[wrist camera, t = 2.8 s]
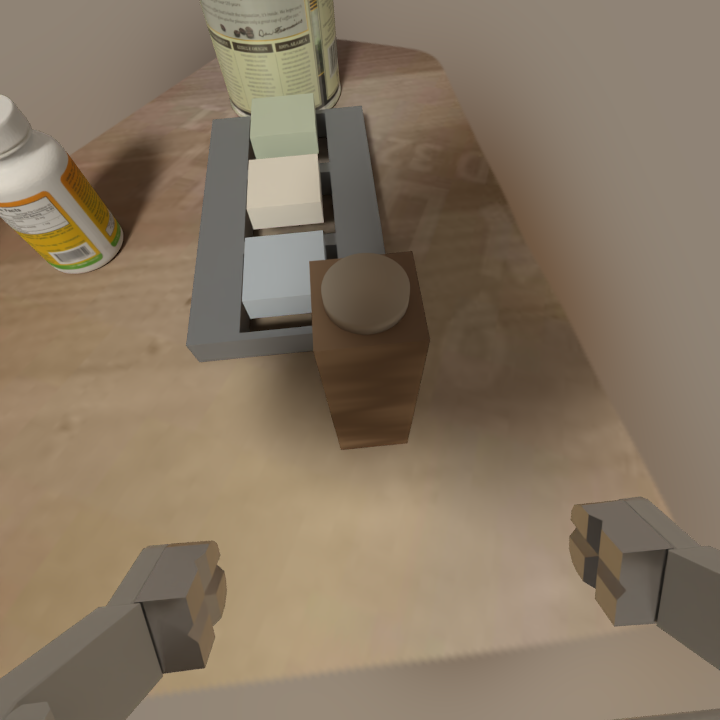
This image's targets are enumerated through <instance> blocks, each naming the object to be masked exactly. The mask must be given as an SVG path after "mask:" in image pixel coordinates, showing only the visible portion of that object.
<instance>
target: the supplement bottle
mask: <svg viewBox="0 0 720 720" xmlns="http://www.w3.org/2000/svg"><path fill="white" fill-rule="evenodd" d="M0 217H1V218H2V219H3V220H4V221H5V222H6V223H7V224H8V225H9V226H10V227H12V228H13V229H14V230H15V231H16V232H17V233H18V234H19V235H20V236H21V237H22V238H23V239H24V240H25V241H26V242H27V243H28V244H29V245H31V246H32V247H33V248H34V249H35V250H36V251H37V252H38V253H39V254H40V255H41V256H42V257H43V258H44V259H45V260H46V261H47V262H48V263H49V264H51V265H52V266H53V267H54V268H56V269H57V270H59V271H61V272H65V273H72V274H77V273H85V272H89V271H93V270H95V269H98V268H100V267H102V266H103V265H105V264H106V263H108V262H109V261H110V260H111V259H112V258H113V257H114V256H115V255H116V254H117V253H118V251H119V250H120V248H121V246H122V243H123V231H122V228H121V226H120V225H119V223H118V222H117V220H116V219H115V218H114V216H113V215H112V214H111V212H110V211H109V209H108V208H107V207H106V205H105V204H104V203H103V201H102V200H101V199H100V197H99V196H98V194H97V193H96V192H95V190H94V189H93V188H92V186H91V185H90V184H89V182H88V181H87V179H86V178H85V177H84V175H83V174H82V173H81V171H80V170H79V168H78V167H77V166H76V164H75V163H74V162H73V160H72V159H71V157H70V156H69V155H68V153H67V152H66V151H65V150H64V148H63V147H62V146H61V145H60V143H59V142H58V141H57V140H56V139H54V138H53V137H52V136H50V135H48V134H46V133H44V132H41V131H37V130H32V128H31V125H30V123H29V122H28V120H27V119H26V117H25V116H24V115H23V114H22V112H21V111H20V110H19V109H18V107H17V106H16V105H15V104H14V102H13V101H12V100H11V99H9V98H8V97H6V96H4V95H1V94H0Z"/></svg>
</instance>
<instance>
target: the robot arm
mask: <svg viewBox="0 0 720 720" xmlns="http://www.w3.org/2000/svg"><path fill="white" fill-rule="evenodd" d="M571 521H572V522H573V524H574V525H575V526H576V529H575V530H574V531H573V533H572V534H571V535H570V536H569V550H570V555H571V559H572V563H573V565H574V567H575V569H576V571H577V573H578V574H579V576H580V577H581V579H582V581H583V582H585V583H587V584H588V585H590V586H592V587H593V588H595V589H596V591H595V600H596V601H597V602H598V604H599V605H600V607H601V608H602V610H603V611H604V613H605V614H606V615H607V617H608V618H609V620H610V621H611V623H612V624H613V626H627V625H641V624H655V623H657V626H658V627H659V628H661V629H662V630H663V631H665V632H666V633H668V634H669V635H671V636H672V637H673V638H675V639H676V640H677V641H679V642H680V643H682V644H683V645H685V646H686V647H687V648H689V649H690V650H692V651H693V652H694V653H696V654H697V655H699V656H700V657H701V658H703V659H704V660H706V661H707V662H709V663H710V664H711V665H713V666H714V667H716V668H717V669H719V670H720V550H718V549H716V548H713V547H711V546H701V545H699V544H698V543H697V542H696V541H695V540H694V539H693V538H691V537H690V536H689V535H688V534H687V533H686V532H684V531H683V530H682V529H681V528H680V527H679V526H678V525H676V524H675V523H674V522H673V521H672V520H671V519H670V518H668V517H667V516H666V515H665V514H664V513H663V512H662V511H660V510H659V509H658V508H657V507H656V506H655V505H654V504H652V503H651V502H650V501H649V500H648V499H646V498H643V497H634V498H626V499H619V500H614V501H605V502H595V503H586V504H576V505H574V506H573V508H572V510H571ZM219 557H220V552H219V548H218V544H217V543H216V542H215V541H200V542H187V543H174V544H165V545H153V546H148V547H146V548H144V549H143V550H142V551H141V553H140V554H139V556H138V557H137V559H136V561H135V562H134V564H133V565H132V567H131V568H130V570H129V571H128V573H127V574H126V576H125V578H124V579H123V581H122V582H121V584H120V585H119V587H118V588H117V590H116V592H115V593H114V595H113V596H112V598H111V599H110V601H109V602H108V604H107V605H106V606H105V607H98V608H97V609H95V610H94V611H93V612H91V613H90V614H89V615H87V616H86V617H84V618H83V619H82V620H80V621H79V622H78V623H76V624H75V625H73V626H72V627H71V628H69V629H68V630H67V631H65V632H64V633H62V634H61V635H60V636H58V637H57V638H56V639H54V640H53V641H51V642H50V643H49V644H47V645H46V646H45V647H43V648H42V649H40V650H39V651H38V652H36V653H35V654H34V655H32V656H31V657H30V658H28V659H27V660H25V661H24V662H23V663H21V664H20V665H19V666H17V667H16V668H14V669H13V670H12V671H10V672H9V673H8V674H6V675H5V676H3V677H2V678H1V679H0V720H126V718H127V717H128V716H129V715H130V714H131V713H132V712H133V711H134V709H135V708H136V707H137V706H138V705H139V704H140V702H141V701H142V700H143V699H144V698H145V697H146V695H147V694H148V693H149V692H150V691H151V690H152V688H153V687H154V686H155V685H156V684H157V683H158V681H159V680H160V679H161V678H162V677H163V675H162V674H164V673H172V672H179V671H187V670H194V669H202V668H205V667H206V664H207V661H208V658H209V655H210V652H211V649H212V646H213V643H214V639H215V634H214V630H213V626H214V625H215V624H216V623H217V622H218V621H219V620H220V619H221V618H222V614H223V611H224V608H225V602H226V594H227V586H226V577H225V573H224V570H222V569H221V568H220V567H219V566H218V565H217V563H218V560H219ZM614 720H720V709H711V710H701V711H692V712H682V713H672V714H663V715H652V716H643V717H634V718H625V719H614Z"/></svg>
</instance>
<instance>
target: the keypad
mask: <svg viewBox="0 0 720 720" xmlns="http://www.w3.org/2000/svg"><path fill="white" fill-rule="evenodd" d="M315 111H316V121H317V135H318V137H327V142H328V153H329V162H328V163H319V169H320V176H321V190H322V195H330V194H332V198H333V209H334V220H335V231H336V233H329V234H323V235H324V242H325V248H326V259H327V260H328V259H338V258H345V257H347V256H350V255H353V254H358V253H375V254H385V248H384V242H383V236H382V230H381V223H380V217H379V211H378V205H377V198H376V192H375V186H374V180H373V173H372V167H371V161H370V155H369V148H368V142H367V136H366V130H365V123H364V117H363V111H362V106H354V107H343V108H333V109H322V110H315ZM250 125H251V116H247V117H236V118H226V119H215V120H213V123H212V131H211V140H210V148H209V156H208V165H207V173H206V182H205V190H204V199H203V207H202V216H201V224H200V233H199V241H198V250H197V258H196V266H195V275H194V283H193V292H192V300H191V309H190V317H189V326H188V334H187V343H186V346H187V347H188V349H189V350H190V351H191V352H192V354H193V355H194V356H195V357H196V358H197V360H198V361H199V362H205V361H215V360H225V359H235V358H245V357H255V356H265V355H275V354H285V353H295V352H305V351H313V333H312V326H305V327H295V328H285V329H275V330H265V331H255V332H250V317H249V315H248V313H247V311H246V308H245V306H244V304H243V302H242V291H243V270H244V249H245V238H249V237H253V226H252V223H251V220H250V218H249V215H248V212H247V209H246V208H247V187H248V167H249V160H255V159H256V157H255V153H254V150H253V146H252V143H251V140H250Z"/></svg>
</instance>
